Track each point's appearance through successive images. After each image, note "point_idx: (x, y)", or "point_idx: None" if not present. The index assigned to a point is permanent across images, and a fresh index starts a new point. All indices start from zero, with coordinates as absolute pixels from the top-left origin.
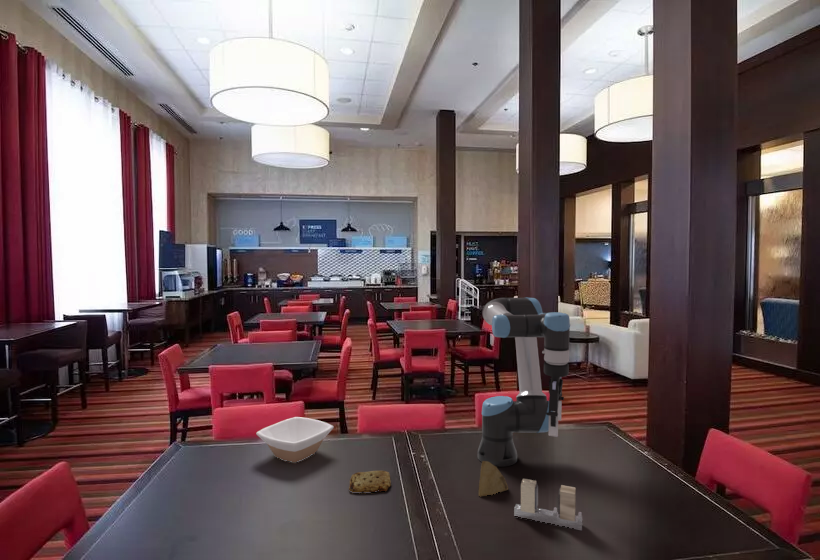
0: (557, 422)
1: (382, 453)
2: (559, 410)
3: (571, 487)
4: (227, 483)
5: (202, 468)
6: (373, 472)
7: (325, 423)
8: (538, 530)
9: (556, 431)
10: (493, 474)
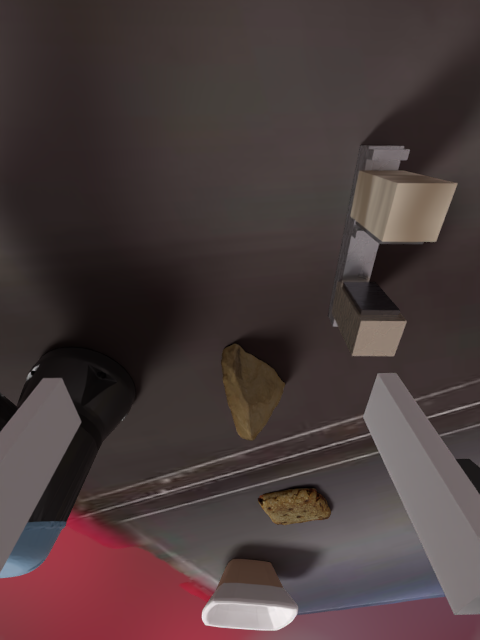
0: (469, 485)
1: (190, 516)
2: (13, 465)
3: (399, 200)
4: (338, 579)
5: (313, 597)
6: (278, 516)
7: (210, 608)
8: (402, 260)
9: (414, 411)
10: (258, 397)
